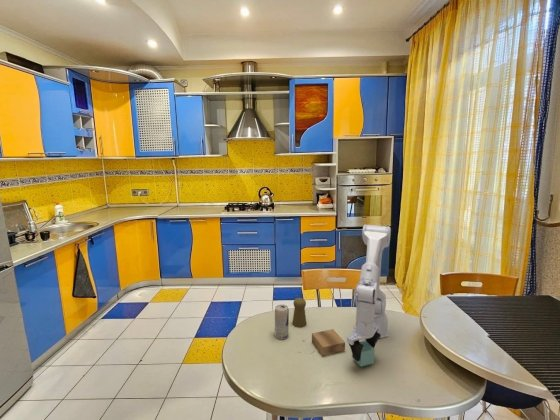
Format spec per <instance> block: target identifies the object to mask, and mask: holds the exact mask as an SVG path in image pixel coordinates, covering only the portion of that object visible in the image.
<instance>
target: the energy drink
mask: <svg viewBox="0 0 560 420" xmlns="http://www.w3.org/2000/svg"><path fill="white" fill-rule="evenodd" d="M289 311H290V310H289V307H288V305H285V304H277V305H276V306H275V309H274V337H275V338H276V339H278V340H286V339H288V337H289V325H290V324H289V319H290V318H289V313H290V312H289Z"/></svg>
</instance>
